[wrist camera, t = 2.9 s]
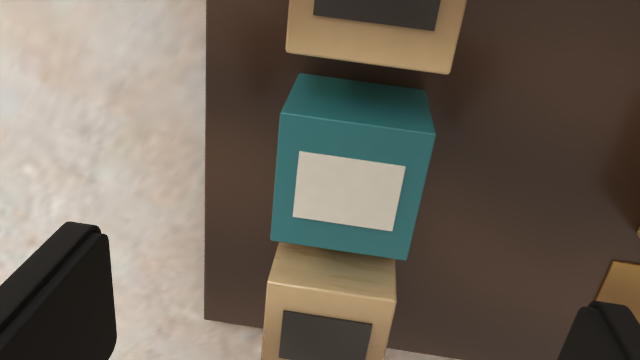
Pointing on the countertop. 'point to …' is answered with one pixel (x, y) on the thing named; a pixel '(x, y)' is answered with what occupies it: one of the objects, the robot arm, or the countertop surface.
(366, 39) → the light wood cube
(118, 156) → the countertop surface
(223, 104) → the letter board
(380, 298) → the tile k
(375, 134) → the tile
